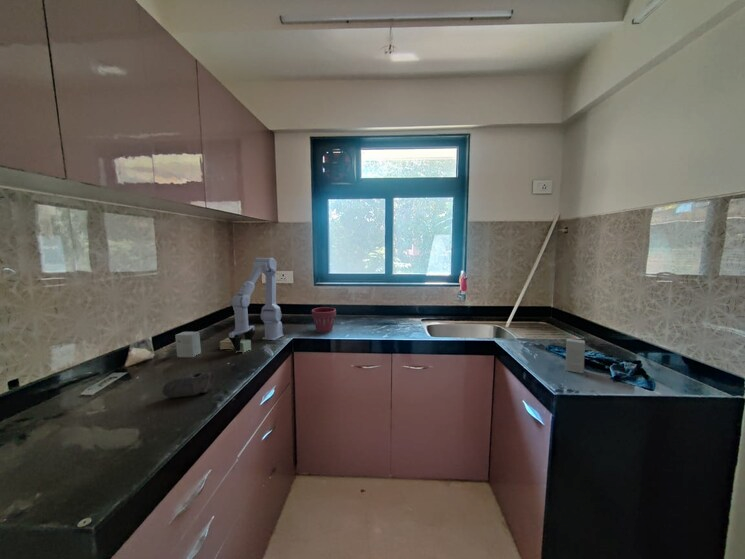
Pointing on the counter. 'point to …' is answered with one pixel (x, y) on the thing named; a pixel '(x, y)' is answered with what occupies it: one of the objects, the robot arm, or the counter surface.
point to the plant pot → (324, 318)
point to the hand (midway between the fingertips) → (243, 348)
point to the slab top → (226, 342)
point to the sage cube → (245, 345)
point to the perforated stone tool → (189, 385)
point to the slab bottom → (226, 347)
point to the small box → (188, 344)
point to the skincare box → (575, 355)
